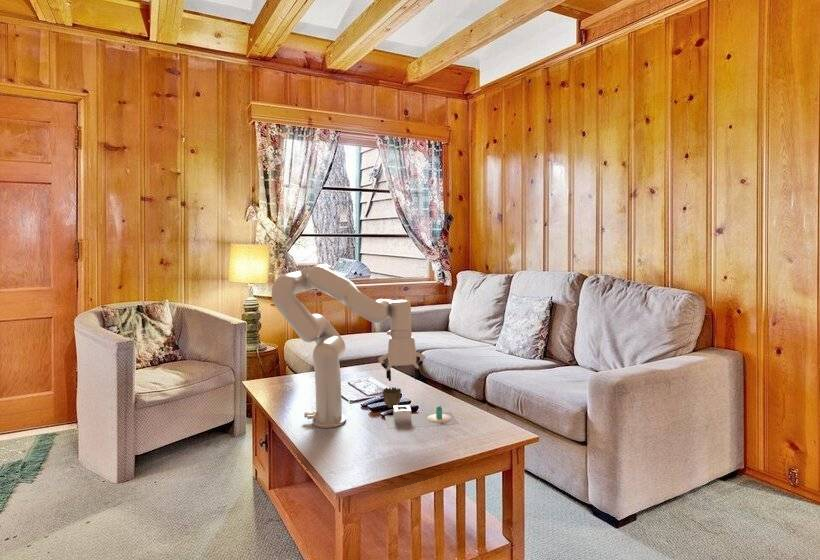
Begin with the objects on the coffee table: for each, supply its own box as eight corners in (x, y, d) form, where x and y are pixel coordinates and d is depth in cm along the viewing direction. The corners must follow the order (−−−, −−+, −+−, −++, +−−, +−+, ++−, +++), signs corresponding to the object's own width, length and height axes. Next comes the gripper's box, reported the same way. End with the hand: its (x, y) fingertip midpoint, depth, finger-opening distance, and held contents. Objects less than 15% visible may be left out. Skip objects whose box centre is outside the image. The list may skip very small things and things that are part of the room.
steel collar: (395, 424, 186) (395, 411, 186) (393, 418, 192) (393, 405, 192) (411, 423, 187) (411, 410, 187) (409, 417, 193) (409, 404, 193)
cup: (398, 412, 202) (398, 393, 201) (380, 411, 203) (380, 392, 203) (402, 406, 209) (402, 387, 208) (385, 405, 211) (385, 386, 210)
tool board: (388, 432, 182) (387, 415, 182) (384, 418, 195) (384, 403, 195) (458, 427, 186) (458, 411, 186) (450, 414, 199) (450, 399, 198)
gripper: (378, 337, 182) (380, 383, 183) (426, 334, 184) (427, 380, 186) (376, 333, 189) (378, 378, 191) (422, 330, 191) (423, 375, 193)
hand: (402, 379), depth 188 cm, fingers open, 9 cm apart
